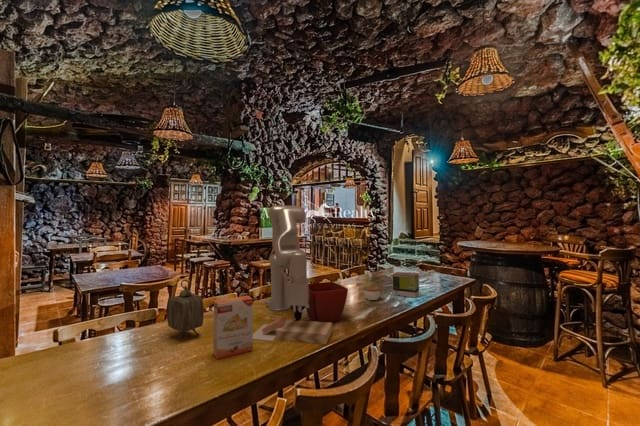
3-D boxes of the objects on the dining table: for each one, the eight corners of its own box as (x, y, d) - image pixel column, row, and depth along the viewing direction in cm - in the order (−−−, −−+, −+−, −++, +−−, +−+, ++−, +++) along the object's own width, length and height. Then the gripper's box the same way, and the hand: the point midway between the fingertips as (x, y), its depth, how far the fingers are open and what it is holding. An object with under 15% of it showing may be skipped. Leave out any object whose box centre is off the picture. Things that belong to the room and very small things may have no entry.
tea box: (419, 295, 201) (419, 273, 202) (415, 298, 193) (415, 275, 193) (397, 292, 209) (397, 271, 210) (392, 295, 201) (392, 273, 201)
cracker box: (216, 360, 110) (217, 303, 110) (213, 354, 115) (213, 299, 116) (253, 351, 118) (253, 298, 118) (248, 345, 123) (248, 294, 123)
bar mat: (248, 339, 129) (248, 338, 129) (264, 324, 147) (264, 323, 147) (272, 341, 127) (272, 340, 127) (285, 326, 145) (285, 325, 145)
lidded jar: (362, 301, 187) (362, 286, 187) (364, 297, 197) (364, 282, 197) (379, 302, 183) (379, 287, 184) (381, 298, 194) (381, 283, 194)
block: (264, 334, 133) (261, 329, 133) (269, 329, 139) (266, 324, 139) (281, 326, 132) (278, 321, 132) (285, 321, 137) (283, 316, 138)
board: (276, 339, 129) (276, 330, 129) (286, 327, 142) (286, 319, 142) (326, 344, 124) (326, 334, 124) (331, 331, 138) (331, 322, 138)
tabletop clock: (203, 336, 132) (203, 280, 132) (184, 343, 125) (184, 283, 125) (184, 329, 140) (185, 276, 141) (165, 336, 133) (166, 279, 133)
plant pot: (332, 311, 167) (332, 281, 168) (348, 322, 150) (348, 288, 150) (300, 315, 160) (300, 284, 160) (313, 327, 142) (313, 292, 143)
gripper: (279, 280, 132) (279, 321, 132) (312, 282, 129) (312, 324, 129) (285, 276, 140) (284, 315, 140) (316, 278, 136) (316, 318, 137)
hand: (298, 319), depth 135 cm, fingers closed
